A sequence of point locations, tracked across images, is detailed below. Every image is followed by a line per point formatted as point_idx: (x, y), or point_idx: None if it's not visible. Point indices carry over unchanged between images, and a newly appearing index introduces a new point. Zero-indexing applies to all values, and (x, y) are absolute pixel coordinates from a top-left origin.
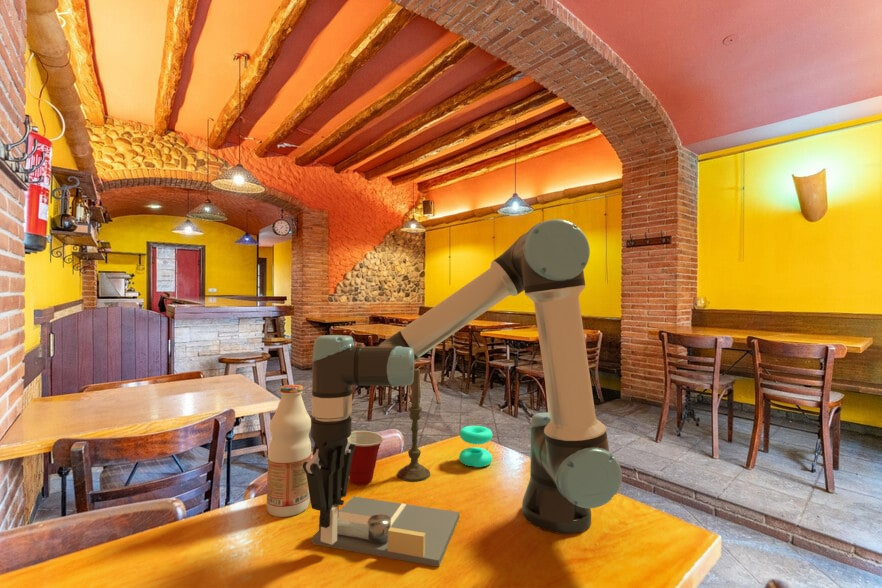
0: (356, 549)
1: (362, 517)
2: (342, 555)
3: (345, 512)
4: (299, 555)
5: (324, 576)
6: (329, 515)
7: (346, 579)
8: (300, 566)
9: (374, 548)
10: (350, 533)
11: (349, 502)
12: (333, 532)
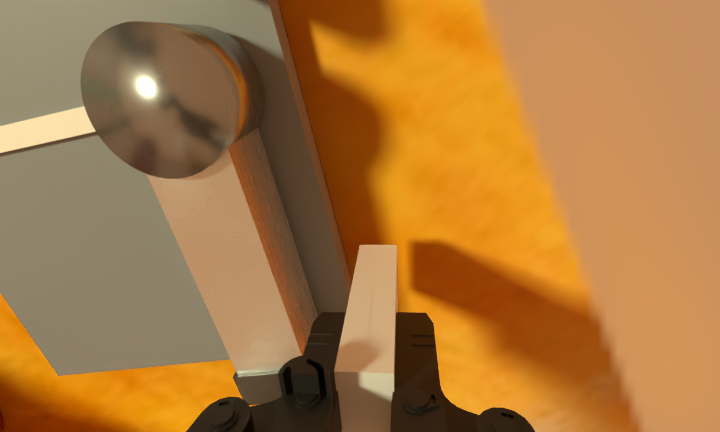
0: (315, 155)
1: (193, 225)
2: (366, 189)
3: (216, 324)
4: (441, 323)
5: (515, 167)
6: (398, 357)
7: (498, 67)
8: (494, 283)
9: (282, 64)
10: (284, 225)
11: (99, 365)
12: (385, 273)
